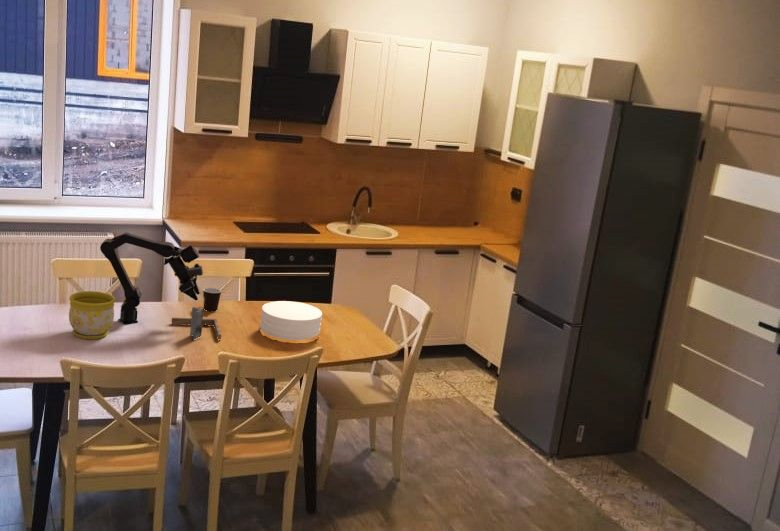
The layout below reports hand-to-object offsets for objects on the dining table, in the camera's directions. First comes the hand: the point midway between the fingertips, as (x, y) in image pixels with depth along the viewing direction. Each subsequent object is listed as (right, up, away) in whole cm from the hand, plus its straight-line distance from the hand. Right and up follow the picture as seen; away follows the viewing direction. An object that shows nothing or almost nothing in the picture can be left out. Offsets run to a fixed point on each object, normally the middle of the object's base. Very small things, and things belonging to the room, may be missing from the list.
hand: (197, 297), depth 360 cm
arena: (0, -16, -3) cm, 16 cm away
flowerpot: (-40, -15, -23) cm, 49 cm away
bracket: (0, -18, -11) cm, 20 cm away
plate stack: (+40, -18, +13) cm, 46 cm away
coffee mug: (-1, -7, +31) cm, 32 cm away
